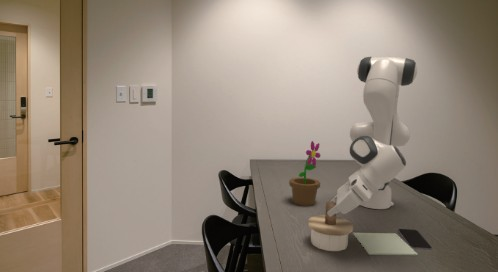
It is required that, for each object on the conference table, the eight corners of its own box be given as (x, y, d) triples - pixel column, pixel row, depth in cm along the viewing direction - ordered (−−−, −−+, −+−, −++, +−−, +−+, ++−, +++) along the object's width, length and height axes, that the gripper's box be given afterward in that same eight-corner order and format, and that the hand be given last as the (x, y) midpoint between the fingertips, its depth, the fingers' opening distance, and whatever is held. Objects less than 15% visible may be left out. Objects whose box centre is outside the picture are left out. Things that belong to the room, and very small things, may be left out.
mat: (352, 233, 124) (352, 232, 124) (395, 234, 125) (395, 233, 125) (369, 254, 108) (369, 253, 108) (417, 255, 109) (417, 254, 109)
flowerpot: (308, 209, 149) (311, 143, 145) (282, 202, 158) (285, 139, 155) (324, 202, 159) (328, 140, 155) (299, 195, 169) (302, 136, 165)
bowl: (308, 235, 122) (309, 219, 121) (341, 235, 122) (342, 220, 121) (315, 250, 110) (316, 233, 109) (351, 251, 110) (352, 234, 110)
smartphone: (411, 247, 114) (397, 228, 129) (410, 250, 114) (396, 231, 129) (433, 248, 113) (416, 229, 128) (433, 252, 113) (416, 232, 128)
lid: (304, 217, 123) (305, 196, 122) (345, 218, 123) (346, 197, 122) (312, 235, 108) (314, 210, 107) (359, 236, 108) (361, 211, 107)
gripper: (353, 170, 121) (324, 194, 125) (355, 185, 102) (320, 212, 106) (366, 184, 121) (336, 207, 124) (370, 201, 101) (334, 228, 105)
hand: (329, 209), depth 115 cm, fingers open, 8 cm apart
